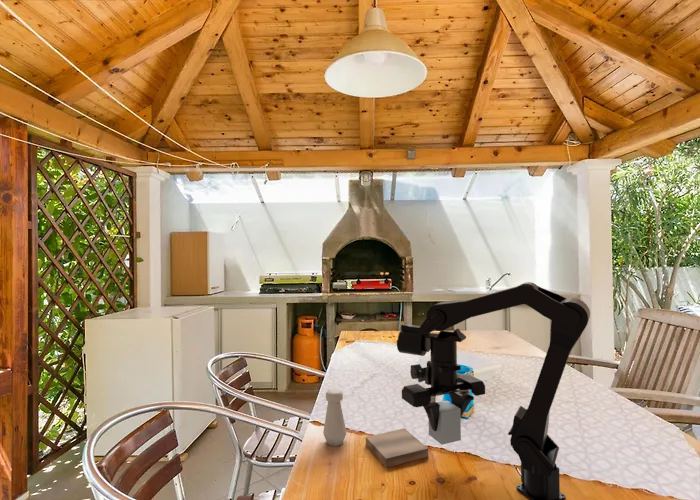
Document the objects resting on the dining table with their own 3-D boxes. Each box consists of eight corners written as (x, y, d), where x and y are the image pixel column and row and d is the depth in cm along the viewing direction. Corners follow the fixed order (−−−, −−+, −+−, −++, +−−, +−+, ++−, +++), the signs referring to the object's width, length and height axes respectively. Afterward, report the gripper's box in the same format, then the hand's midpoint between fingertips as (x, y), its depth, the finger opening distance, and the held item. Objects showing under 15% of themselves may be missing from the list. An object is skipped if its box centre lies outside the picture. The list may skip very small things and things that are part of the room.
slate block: (460, 440, 88) (460, 408, 88) (441, 444, 86) (441, 412, 86) (447, 430, 93) (446, 400, 93) (428, 434, 91) (428, 404, 91)
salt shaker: (343, 448, 98) (342, 395, 98) (321, 446, 99) (320, 394, 99) (348, 437, 103) (347, 387, 103) (327, 435, 105) (326, 386, 104)
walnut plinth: (428, 456, 93) (428, 448, 93) (386, 467, 89) (386, 458, 89) (404, 436, 104) (404, 428, 103) (365, 444, 99) (365, 436, 99)
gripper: (455, 345, 100) (456, 407, 101) (389, 354, 93) (390, 421, 94) (486, 357, 90) (487, 426, 90) (414, 368, 83) (415, 443, 83)
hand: (444, 428), depth 90 cm, fingers closed on slate block, 5 cm apart
